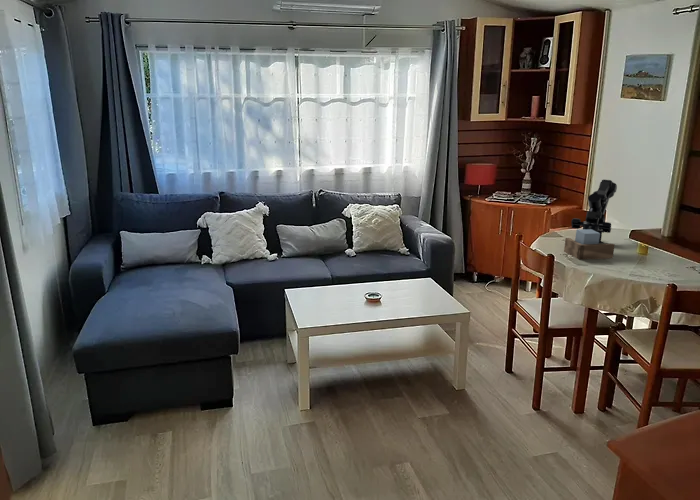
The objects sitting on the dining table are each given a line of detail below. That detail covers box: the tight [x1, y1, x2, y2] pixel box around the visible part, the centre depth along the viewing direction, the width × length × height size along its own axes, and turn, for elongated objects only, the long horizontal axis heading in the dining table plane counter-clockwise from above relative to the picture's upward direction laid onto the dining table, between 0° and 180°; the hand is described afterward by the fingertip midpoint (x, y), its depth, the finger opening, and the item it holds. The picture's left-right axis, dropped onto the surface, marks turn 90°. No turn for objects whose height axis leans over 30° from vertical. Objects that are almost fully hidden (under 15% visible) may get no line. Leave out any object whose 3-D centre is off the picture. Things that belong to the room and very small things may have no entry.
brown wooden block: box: [563, 237, 615, 260], centre depth 280 cm, size 14×18×7 cm
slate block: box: [574, 228, 600, 244], centre depth 279 cm, size 8×8×12 cm
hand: (587, 239), depth 284 cm, fingers closed
